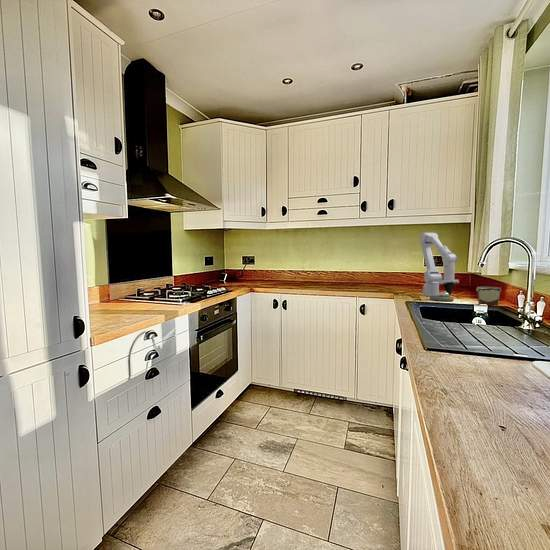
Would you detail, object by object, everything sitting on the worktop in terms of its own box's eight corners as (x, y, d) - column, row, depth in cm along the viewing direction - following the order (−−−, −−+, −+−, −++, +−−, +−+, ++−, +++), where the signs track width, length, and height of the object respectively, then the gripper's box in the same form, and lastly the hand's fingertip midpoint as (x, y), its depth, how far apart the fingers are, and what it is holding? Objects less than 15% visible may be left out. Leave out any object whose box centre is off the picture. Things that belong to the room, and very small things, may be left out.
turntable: (424, 298, 192) (425, 296, 192) (440, 297, 196) (440, 294, 196) (442, 301, 179) (442, 298, 179) (458, 300, 184) (458, 297, 184)
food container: (493, 303, 171) (494, 286, 171) (500, 305, 165) (501, 287, 165) (471, 303, 173) (471, 286, 172) (477, 305, 167) (477, 287, 166)
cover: (437, 296, 190) (437, 291, 190) (443, 295, 192) (443, 290, 191) (444, 297, 185) (444, 292, 185) (450, 296, 187) (451, 291, 187)
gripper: (446, 273, 182) (445, 296, 183) (463, 273, 187) (462, 294, 188) (436, 273, 189) (435, 294, 190) (453, 272, 194) (452, 293, 195)
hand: (448, 294), depth 189 cm, fingers closed
